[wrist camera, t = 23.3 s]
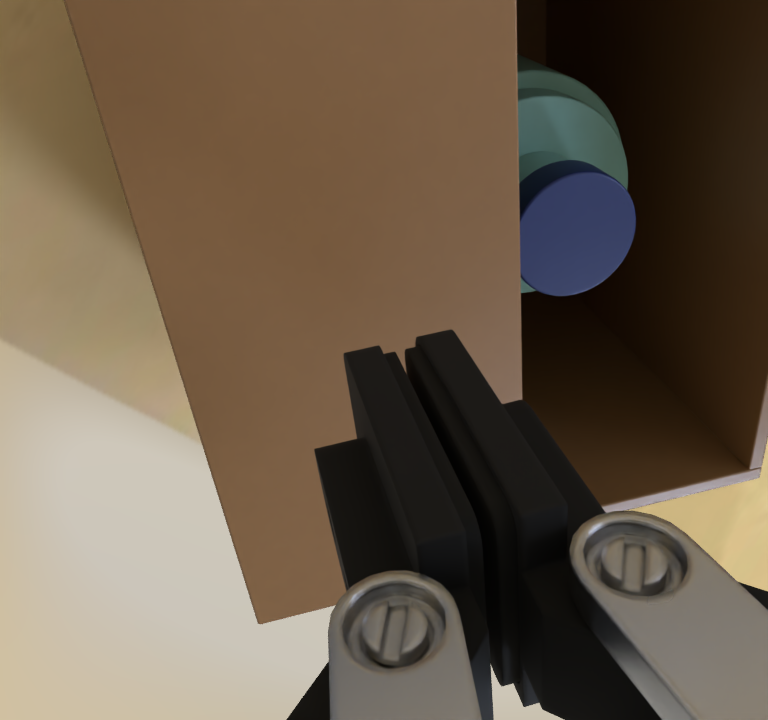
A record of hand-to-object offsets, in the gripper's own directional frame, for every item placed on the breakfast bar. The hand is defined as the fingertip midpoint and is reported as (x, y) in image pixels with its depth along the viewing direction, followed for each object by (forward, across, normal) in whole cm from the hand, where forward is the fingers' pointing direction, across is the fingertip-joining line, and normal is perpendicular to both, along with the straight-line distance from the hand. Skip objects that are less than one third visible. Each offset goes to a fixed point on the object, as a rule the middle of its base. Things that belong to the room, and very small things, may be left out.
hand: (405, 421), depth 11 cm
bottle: (+18, -6, 0) cm, 19 cm away
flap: (+4, 0, 0) cm, 4 cm away
